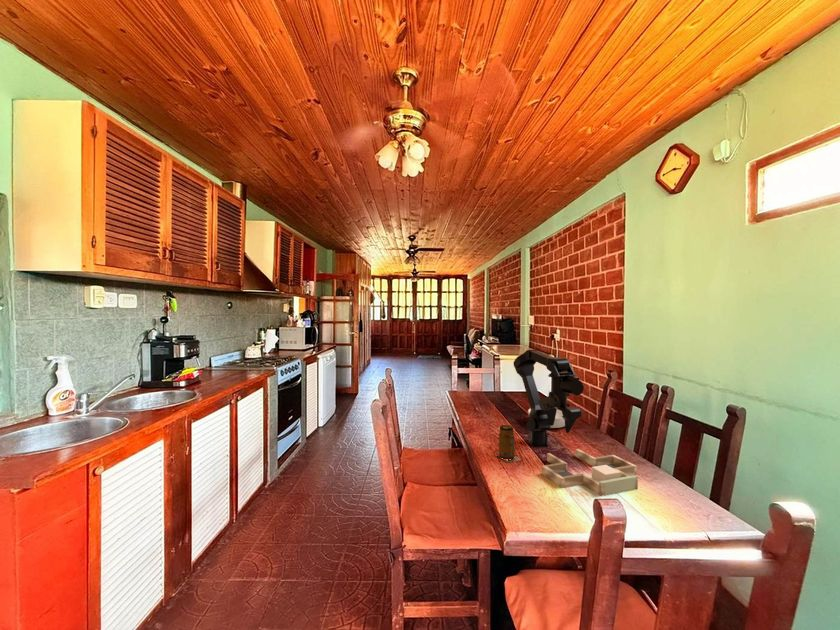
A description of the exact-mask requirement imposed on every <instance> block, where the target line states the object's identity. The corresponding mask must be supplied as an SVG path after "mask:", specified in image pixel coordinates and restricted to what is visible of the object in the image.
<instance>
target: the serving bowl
mask: <svg viewBox="0 0 840 630" xmlns="http://www.w3.org/2000/svg"><path fill="white" fill-rule="evenodd" d="M530 411H531V407H530V408H528V410H527V413H528V415H529V414H530ZM562 416H563V414H562V411H560V410H558V409H557V411H556V416H555V421H554V425H553V426H551V427H550V429H557V428H563V427H565V420H564V419H563V417H562Z"/></svg>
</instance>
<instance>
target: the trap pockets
mask: <svg viewBox="0 0 840 630" xmlns="http://www.w3.org/2000/svg"><path fill="white" fill-rule="evenodd" d="M594 457H595V456H594ZM595 458H597V462H596V463H597V466H601V465H608V466H609V467H611V468H614V469H615V468H616V470H617V469H618V470H620V471H622V472H624V473H626V474H628V475H630V476H632V475H635V476H638V465H636V464H633V462H629V461H627V460H626V459H623V458H621V457H619V456H617V455H615V454H609V455H603V456H596V457H595ZM564 462H565V461H564ZM564 462H563V463H557V464H551V463H549V464H545V465H541V475H542V476H544V477H545V478H547V479H548V480H549V481H551V482H552V483H553V484H555V485H557V487H560V488H561V489H564V488H569V487H574V486H575V487H576V486H580V485H584V484H583V475H584V474H585V473H584V474H582V473H576V474H573V473H572V472H570V471H569V470H567V471H565V464H566V463H567V462H566V463H564Z"/></svg>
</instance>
